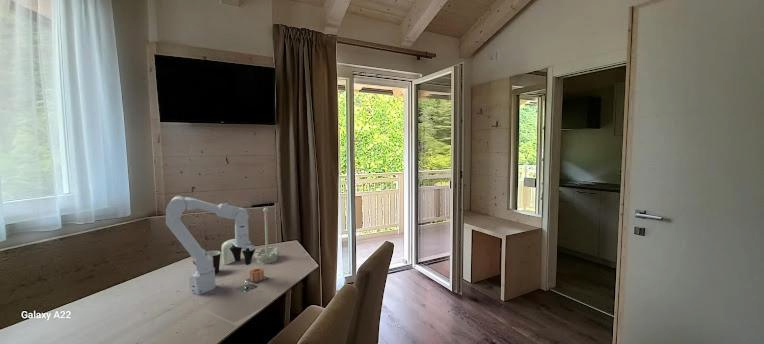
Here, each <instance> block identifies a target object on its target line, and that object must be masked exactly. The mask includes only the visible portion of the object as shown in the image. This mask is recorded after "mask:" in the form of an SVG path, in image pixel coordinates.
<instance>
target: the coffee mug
mask: <svg viewBox="0 0 764 344" xmlns="http://www.w3.org/2000/svg"><path fill="white" fill-rule="evenodd" d="M206 252H207V253H209V254H211V255H212V256H213V267H214V268H215V275H217V274H218V273H219V272H220V265H221V263H220V262H221V255H222V251H220V250H210V251H206ZM192 263H193V264H194V265H195V266H196V264H195V263H194V261H193V260H192Z"/></svg>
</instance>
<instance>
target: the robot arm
mask: <svg viewBox="0 0 764 344" xmlns="http://www.w3.org/2000/svg"><path fill="white" fill-rule="evenodd" d="M194 209H195V210H196V209H197V210H202V211H206V212H212V213H214V214H216V216H217V217H221V218H225V219H228V220H234V222H235V224H234V239H235V241H232V242H231V246H232V247H230V250H231V252H232V254H233V256H234V259H235V261H234V263H238V262H240V261H241V257H242V255H241V254H243V257H244V263H245V266H249V265H251V264H252V258H253V256H254V255H255V251H256V248H255V245H253V244H252V243H251V240H250V237H249V236H250V235H249V234H250V233H249V217H250V215H249V212H248V211H247V209H246V208H244V207H241V206H240V207H239V206H238V205H237V206H233V205H229V203H227V202H225V203H219V204H214V203H211V202H207V201H204V200H201V199H197V198H193V197H188V196H186V197H185V196H183V195H175V196H174V197H173V198H171V200H170V201H169V202H168V203H167V205H166V208H165V225H166V226H167V228H169V230H170V232H171V233H172V234H173V235H174V236H175V237H176V239H177V240H178V241H179V243H180V244H181V245H182V247H183V248H184V249H185V250H186V251H187V252H188V254H189V255H190V256H191V258H192V262H193V261H194V263H195V264H196V265H195V264H194V263H193V264H194V265H195V266H196V270H195V273H194V274H193V275H190V277H189V293H192V294H193V295H196V296H199V295H201V294H202V295H203V294H205V293H207V292H211V291H213V290H215V288H216V274H215V268H214V267H213V256H212V255H211V254H209V253H207V252H208V251H206V250H205V249H204V248H203V247H201V245H200V244H199V243H198V241H197V240H196V239H195V237H194V236H193V235H192V234H191V231H189V229H188V228H187V227H186V225H185V224H184V223H183V222H182V221H181V218H182V214H183V213H184V211H186V210H187V211H192V210H194ZM242 249H244V250H242Z"/></svg>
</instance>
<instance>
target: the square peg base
mask: <svg viewBox="0 0 764 344" xmlns="http://www.w3.org/2000/svg"><path fill="white" fill-rule="evenodd" d="M268 279H269V277H268V276H265V275H264V279H262V280H260V281H251V280H250V277H249V278H247V279H246V280H248V281H249V283H250V284H253V285H257V284H260V283H262V282H265V281H266V280H268Z"/></svg>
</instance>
